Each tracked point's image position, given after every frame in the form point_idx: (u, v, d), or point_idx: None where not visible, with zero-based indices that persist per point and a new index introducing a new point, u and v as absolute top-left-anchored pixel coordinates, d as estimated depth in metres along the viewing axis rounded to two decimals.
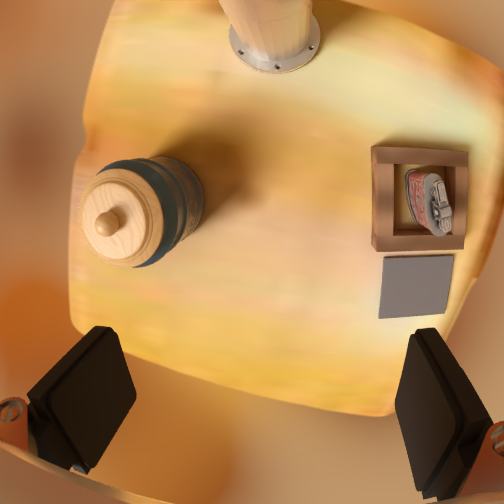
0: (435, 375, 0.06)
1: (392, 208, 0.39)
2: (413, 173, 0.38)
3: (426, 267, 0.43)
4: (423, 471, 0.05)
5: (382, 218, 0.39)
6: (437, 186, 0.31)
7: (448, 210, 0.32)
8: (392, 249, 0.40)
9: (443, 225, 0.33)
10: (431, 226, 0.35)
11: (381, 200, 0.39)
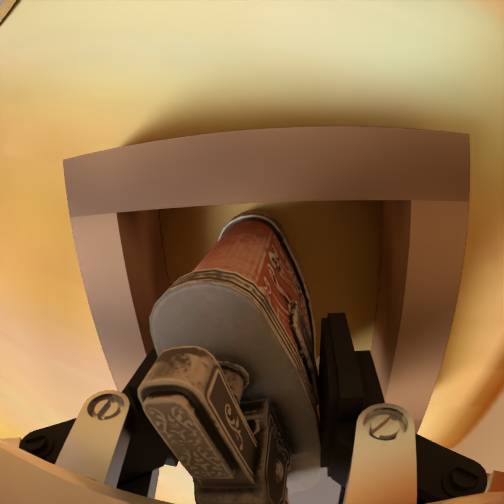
0: (326, 353, 0.08)
1: (142, 357, 0.12)
2: (224, 234, 0.11)
3: None
4: (322, 447, 0.07)
5: (123, 377, 0.13)
6: None
7: None
8: None
9: None
10: None
11: (104, 332, 0.12)
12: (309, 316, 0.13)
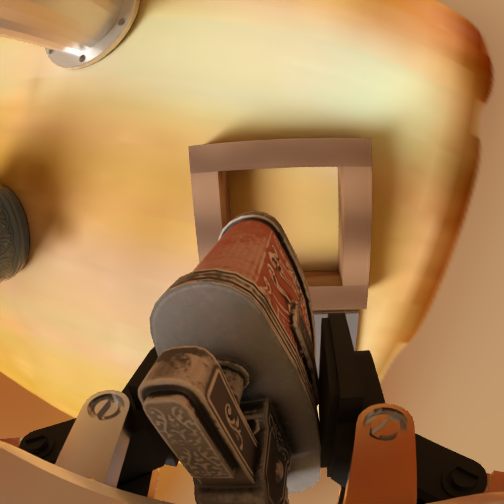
0: (326, 354, 0.08)
1: None
2: (224, 234, 0.11)
3: None
4: (322, 447, 0.07)
5: None
6: None
7: None
8: None
9: None
10: None
11: (201, 232, 0.26)
12: (309, 316, 0.13)
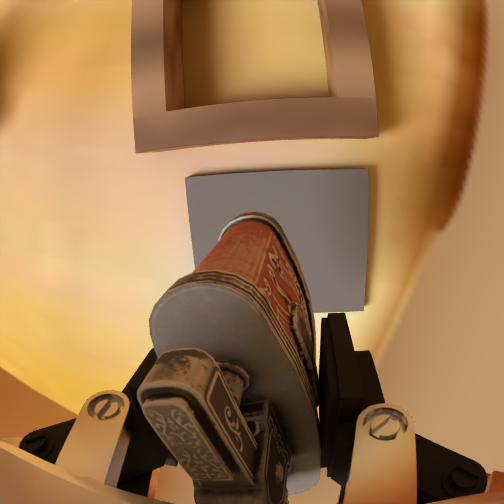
0: (326, 354, 0.08)
1: (160, 54, 0.16)
2: (224, 235, 0.11)
3: (293, 196, 0.20)
4: (322, 447, 0.07)
5: (140, 79, 0.16)
6: None
7: None
8: (169, 143, 0.17)
9: None
10: None
11: (137, 46, 0.15)
12: (309, 317, 0.13)
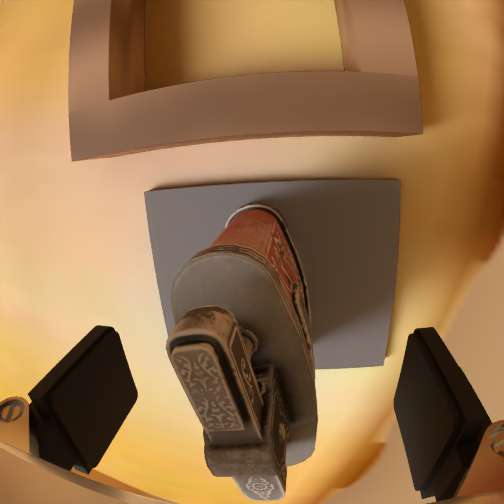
0: (433, 375, 0.06)
1: (105, 23, 0.10)
2: (233, 221, 0.12)
3: (294, 219, 0.14)
4: (422, 470, 0.05)
5: (79, 59, 0.10)
6: None
7: (255, 465, 0.06)
8: (112, 145, 0.11)
9: (241, 488, 0.07)
10: None
11: (78, 17, 0.10)
12: (306, 302, 0.14)
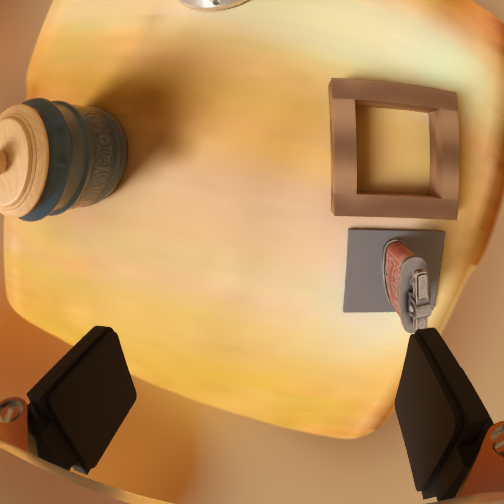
0: (435, 375, 0.06)
1: (354, 156, 0.29)
2: (393, 246, 0.32)
3: (406, 245, 0.33)
4: (423, 471, 0.05)
5: (341, 169, 0.30)
6: (417, 278, 0.25)
7: (427, 309, 0.25)
8: (356, 213, 0.31)
9: (417, 326, 0.26)
10: (403, 321, 0.28)
11: (338, 146, 0.29)
12: None
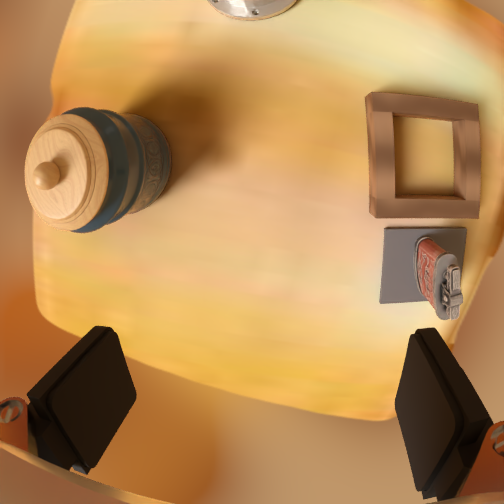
0: (435, 375, 0.06)
1: (393, 165, 0.31)
2: (425, 243, 0.34)
3: (435, 241, 0.36)
4: (423, 471, 0.05)
5: (381, 176, 0.32)
6: (452, 273, 0.27)
7: (459, 299, 0.27)
8: (395, 215, 0.33)
9: (450, 313, 0.28)
10: (437, 309, 0.31)
11: (379, 155, 0.31)
12: None
